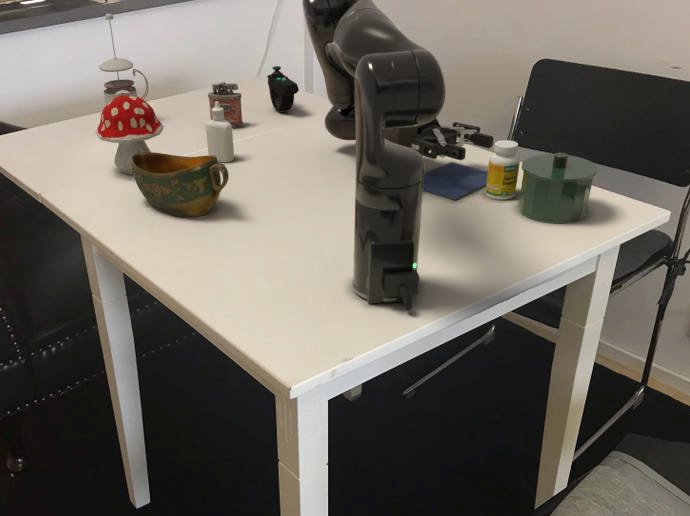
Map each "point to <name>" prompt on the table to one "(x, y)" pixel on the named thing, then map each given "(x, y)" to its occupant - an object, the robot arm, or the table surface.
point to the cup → (179, 182)
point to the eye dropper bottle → (219, 136)
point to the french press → (118, 85)
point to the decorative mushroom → (128, 128)
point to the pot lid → (559, 167)
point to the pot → (554, 199)
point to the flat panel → (454, 180)
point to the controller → (281, 90)
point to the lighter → (227, 102)
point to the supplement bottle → (503, 170)
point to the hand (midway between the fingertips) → (478, 148)
